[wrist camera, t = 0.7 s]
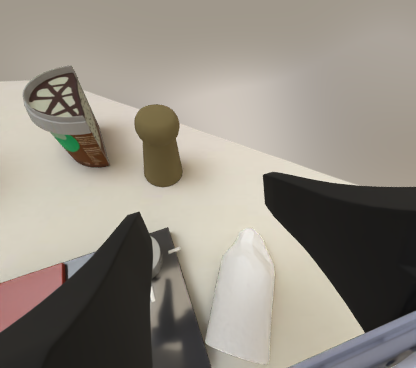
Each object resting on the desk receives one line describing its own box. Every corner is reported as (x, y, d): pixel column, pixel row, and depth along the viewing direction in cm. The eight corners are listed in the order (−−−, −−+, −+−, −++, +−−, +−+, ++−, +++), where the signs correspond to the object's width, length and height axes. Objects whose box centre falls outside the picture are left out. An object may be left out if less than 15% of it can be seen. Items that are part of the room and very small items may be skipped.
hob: (214, 359, 19) (217, 365, 17) (-65, 524, 13) (-106, 561, 11) (171, 223, 26) (170, 217, 24) (-22, 287, 20) (-42, 285, 18)
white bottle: (266, 243, 26) (285, 229, 21) (257, 356, 19) (282, 372, 15) (224, 230, 26) (234, 214, 21) (201, 338, 20) (207, 349, 15)
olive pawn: (137, 181, 29) (117, 122, 20) (152, 153, 32) (141, 92, 23) (175, 191, 29) (173, 137, 19) (187, 161, 32) (189, 103, 23)
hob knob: (167, 272, 21) (164, 266, 17) (129, 288, 19) (119, 284, 16) (158, 238, 22) (154, 227, 19) (122, 250, 21) (112, 241, 18)
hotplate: (69, 449, 14) (65, 455, 13) (-96, 548, 11) (-109, 560, 11) (65, 263, 20) (62, 262, 20) (-41, 299, 17) (-48, 299, 17)
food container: (59, 129, 33) (17, 68, 24) (97, 122, 35) (71, 63, 26) (66, 185, 27) (15, 131, 19) (111, 172, 29) (83, 118, 21)
